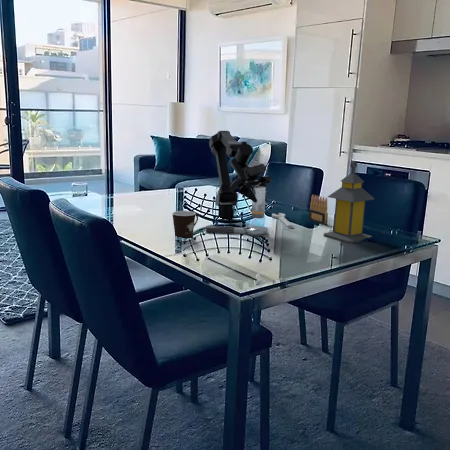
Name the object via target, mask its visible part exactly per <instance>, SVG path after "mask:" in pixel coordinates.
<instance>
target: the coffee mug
mask: <svg viewBox="0 0 450 450" xmlns="http://www.w3.org/2000/svg"><path fill="white" fill-rule="evenodd" d="M198 216H199V215H198V214H197V213H196V212H194V211H190V210H177V211H173V212H172V221H173V229H174V237H175V236H177V237H182V238H192V237H194V228H195V226H196V225H197V223H198V220H199V217H198ZM192 239H193V238H192Z"/></svg>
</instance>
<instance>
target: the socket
mask: <svg viewBox="0 0 450 450" xmlns="http://www.w3.org/2000/svg"><path fill="white" fill-rule="evenodd" d="M266 187H267V186H266ZM266 187H263V186H252V191H253V193H254V195H255V197H256V199H257V202H256V203H255V202H253V201H252V200H251V211H250V212H251V218H252V219H264V218H265V213H266V211H265V208H266V207H265V206H266V201H265V193H266Z"/></svg>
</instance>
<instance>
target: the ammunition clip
mask: <svg viewBox="0 0 450 450" xmlns="http://www.w3.org/2000/svg"><path fill="white" fill-rule="evenodd" d="M310 199H311V201H310V204H309V205H310V206H309V209H308V221H311V222H312V223H316V224H319V225H322V226H327V225H328V218H329V217H328V215H329V214H328V197H325V196H323V197H322V196H319V195H316V194H312V195H311V198H310Z"/></svg>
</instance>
